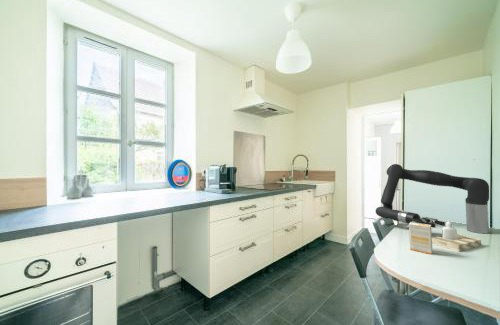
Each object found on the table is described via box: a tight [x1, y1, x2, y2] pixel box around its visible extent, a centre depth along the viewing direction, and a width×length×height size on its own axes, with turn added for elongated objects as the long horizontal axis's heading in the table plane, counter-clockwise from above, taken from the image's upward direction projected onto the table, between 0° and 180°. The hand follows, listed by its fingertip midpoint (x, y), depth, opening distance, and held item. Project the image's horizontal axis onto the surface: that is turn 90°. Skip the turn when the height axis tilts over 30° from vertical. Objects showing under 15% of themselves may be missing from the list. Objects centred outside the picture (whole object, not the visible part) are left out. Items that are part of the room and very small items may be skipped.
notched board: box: [432, 233, 482, 253], centre depth 106 cm, size 20×11×3 cm, turn 110°
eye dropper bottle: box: [441, 219, 458, 241], centre depth 108 cm, size 4×6×12 cm
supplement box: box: [408, 222, 433, 255], centre depth 99 cm, size 8×5×13 cm, turn 43°
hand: (440, 224), depth 112 cm, fingers open, 8 cm apart
